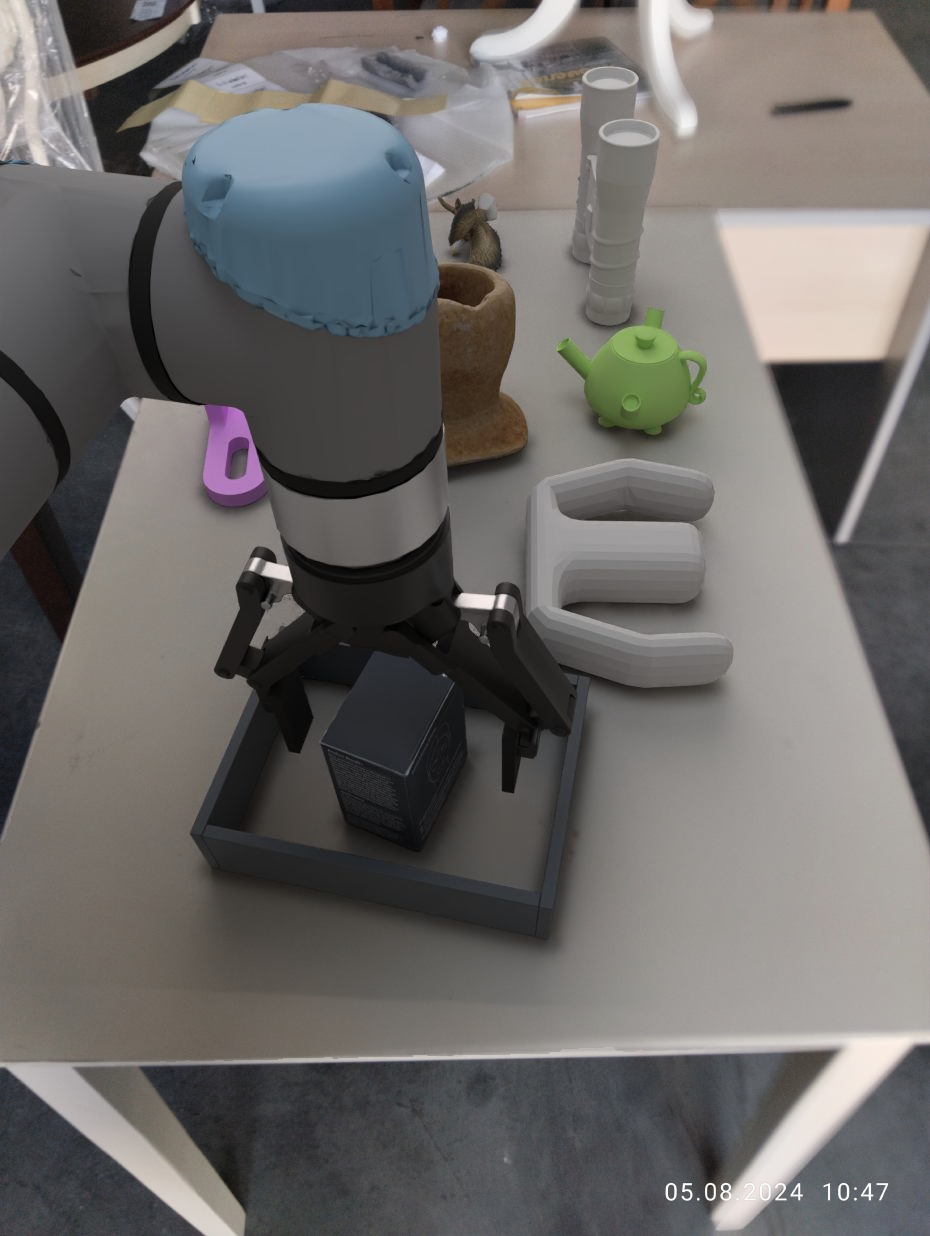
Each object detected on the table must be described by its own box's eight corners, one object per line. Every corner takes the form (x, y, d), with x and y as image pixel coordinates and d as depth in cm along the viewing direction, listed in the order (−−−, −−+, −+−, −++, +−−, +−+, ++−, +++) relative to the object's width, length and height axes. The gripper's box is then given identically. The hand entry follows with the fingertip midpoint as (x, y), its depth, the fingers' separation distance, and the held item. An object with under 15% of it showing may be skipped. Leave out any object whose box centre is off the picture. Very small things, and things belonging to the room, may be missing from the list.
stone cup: (508, 385, 85) (511, 236, 73) (537, 467, 78) (546, 316, 66) (351, 407, 84) (329, 258, 72) (367, 493, 76) (345, 343, 65)
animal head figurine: (420, 230, 101) (433, 256, 94) (450, 169, 97) (466, 192, 91) (477, 260, 104) (493, 288, 98) (508, 202, 101) (527, 227, 94)
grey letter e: (754, 656, 58) (526, 651, 59) (735, 700, 63) (524, 695, 63) (716, 449, 70) (527, 447, 71) (702, 499, 75) (525, 496, 75)
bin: (209, 867, 56) (188, 833, 52) (293, 666, 65) (280, 624, 61) (548, 940, 53) (553, 910, 49) (584, 717, 62) (590, 677, 58)
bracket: (217, 411, 84) (198, 348, 78) (276, 407, 84) (262, 344, 78) (203, 508, 76) (181, 446, 70) (269, 504, 76) (252, 441, 70)
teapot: (720, 425, 81) (741, 346, 74) (616, 468, 78) (628, 389, 71) (648, 361, 87) (661, 282, 80) (548, 398, 84) (553, 319, 77)
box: (395, 727, 62) (380, 636, 54) (469, 755, 60) (466, 666, 52) (341, 823, 57) (315, 740, 49) (419, 856, 56) (407, 776, 48)
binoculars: (566, 241, 101) (579, 66, 87) (613, 239, 101) (634, 64, 87) (585, 329, 90) (603, 146, 76) (638, 326, 91) (666, 144, 76)
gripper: (660, 488, 39) (612, 736, 55) (138, 421, 43) (239, 672, 59) (644, 621, 34) (596, 847, 51) (62, 532, 38) (195, 770, 55)
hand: (404, 753), depth 55 cm, fingers open, 13 cm apart
